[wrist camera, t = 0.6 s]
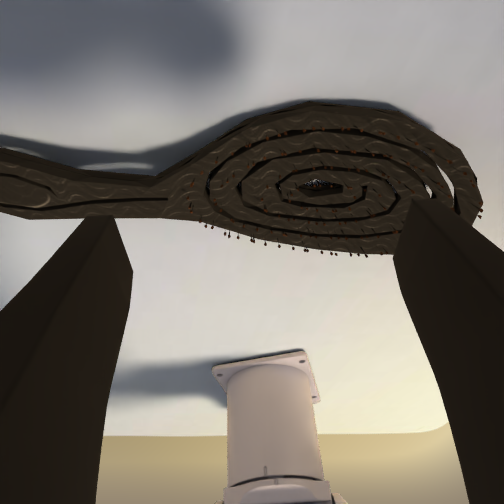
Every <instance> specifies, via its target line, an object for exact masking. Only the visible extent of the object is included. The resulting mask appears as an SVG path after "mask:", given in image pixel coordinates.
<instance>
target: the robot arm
mask: <svg viewBox="0 0 504 504" xmlns="http://www.w3.org/2000/svg"><path fill="white" fill-rule="evenodd" d="M393 261H394V266H395V270H396V274H397V278H398V282H399V286H400V289H401V293H402V296H403V298H404V301H405V304H406V306H407V309H408V311H409V314H410V316H411V319H412V321H413V324H414V326H415V328H416V331H417V333H418V336H419V338H420V341H421V343H422V346H423V348H424V350H425V353H426V355H427V358H428V360H429V363H430V365H431V367H432V370H433V372H434V375H435V378H436V381H437V384H438V386H439V389H440V393H441V396H442V399H443V403H444V406H445V410H446V413H447V417H448V420H449V424H450V427H451V431H452V434H453V438H454V442H455V446H456V450H457V454H458V457H459V461H460V465H461V469H462V473H463V478H464V482H465V486H466V491H467V495H468V499H469V504H504V252H503V251H502V250H501V249H500V248H498V247H497V246H496V245H494V244H493V243H492V242H491V241H489V240H488V239H487V238H486V237H485V236H483V235H482V234H481V233H480V232H478V231H477V230H476V229H475V228H473V227H472V226H471V225H470V224H469V223H467V222H466V221H465V220H464V219H462V218H461V217H460V216H459V215H458V214H456V213H455V212H454V211H453V210H451V209H450V208H449V207H448V206H446V205H445V204H444V203H442V202H441V201H440V200H438V199H418V200H412V201H411V204H410V207H409V210H408V213H407V216H406V219H405V222H404V225H403V228H402V231H401V234H400V238H399V241H398V244H397V247H396V250H395V253H394V256H393ZM132 279H133V270H132V267H131V264H130V261H129V258H128V255H127V253H126V250H125V247H124V244H123V241H122V239H121V236H120V233H119V230H118V227H117V225H116V222H115V219H114V216H113V215H94V216H87V217H86V218H85V219H84V220H83V221H82V222H81V224H80V225H79V226H78V227H77V228H76V229H75V230H74V232H73V233H72V234H71V235H70V236H69V237H68V238H67V240H66V241H65V242H64V243H63V244H62V245H61V247H60V248H59V249H58V250H57V251H56V252H55V253H54V255H53V256H52V257H51V258H50V259H49V260H48V261H47V263H46V264H45V265H44V266H43V267H42V268H41V269H40V270H39V271H38V272H37V274H36V275H35V276H34V277H33V278H32V279H31V280H30V281H29V282H28V284H27V285H26V286H25V287H24V288H23V289H22V290H21V291H20V292H19V293H18V294H17V295H16V296H15V297H14V298H13V299H12V300H11V301H10V302H9V303H8V304H7V305H6V306H5V307H4V308H3V309H2V310H1V311H0V504H95V502H96V491H97V481H98V473H99V464H100V455H101V446H102V439H103V431H104V424H105V416H106V409H107V403H108V398H109V393H110V388H111V384H112V380H113V376H114V372H115V367H116V363H117V359H118V355H119V351H120V347H121V343H122V338H123V334H124V330H125V326H126V321H127V317H128V313H129V308H130V299H131V290H132ZM212 373H213V375H214V376H215V378H216V379H217V381H218V382H219V384H220V385H221V387H222V388H223V389H224V391H225V392H226V394H227V444H228V445H227V446H228V447H227V448H228V449H227V452H228V457H227V458H228V488H224V501H216V502H215V503H214V504H348V503H347V502H346V501H345V500H344V499H343V498H342V497H341V495H340V494H339V493H331V491H330V485H329V481H324V475H323V468H322V462H321V455H320V450H319V442H318V436H317V429H316V423H315V416H314V410H313V404H316V403H319V402H320V396H319V393H318V390H317V386H316V383H315V380H314V376H313V373H312V370H311V367H310V363H309V360H308V357H307V354H306V353H305V352H303V351H300V352H294V353H288V354H282V355H276V356H270V357H264V358H258V359H253V360H247V361H241V362H235V363H229V364H223V365H217V366H214V367H213V368H212Z"/></svg>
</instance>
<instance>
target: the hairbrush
mask: <svg viewBox="0 0 504 504" xmlns="http://www.w3.org/2000/svg"><path fill="white" fill-rule="evenodd" d="M420 150H422V151H425V152H426V153H427V154H428V155H429V156H427V155H426V154H425V153H423V152H422V151H420ZM436 164H437V165H438V166H439V167H440V168H441V169H442V170H443V171H444V173H445V174H446V175H447V176H448V178H449V179H450V181H451V182H452V184H453V186H454V199H453V196H452V194H451V191H450V189H449V186H448V184H447V183H446V181H445V180H444V178H443V176H442V174H441V172H440V171H439V169H438V167H437V165H436ZM411 168H412V169H413V170H412V169H411ZM213 169H214V170H213ZM212 170H213V171H212ZM210 171H212V173H211V174H210V181H209V189H208V187H207V185H206V182H207V179H208V175H209V172H210ZM314 179H318V180H323V181H327V182H332V183H336V185H331V184H330V183H329V184H330V185H324V186H321V184H319V182H318V181H317V182H318V184H319V186H316V185H315V184H313V186H312V187H311V186H308V185H304V184H305V183H307V182H310V181H311V182H312V180H314ZM387 180H388V181H389V182H390V183H391V185H392V186H393V187H394V189H395V190H396V191H397V193H396V194H394V191H393V188H392V186H391V185H390V183H389V182H388V181H387ZM240 181H241V189H240V188H239V187H237V186H236V185H237V184H238V183H239V182H240ZM278 181H279V186H280V189H279V186H278V183H277V182H278ZM424 182H425V183H426V184H427V185H428V187H429V188H430V189H431V191H432V196H431V198H430V195H429V193H428V192H427V190H426V187H425V184H424ZM312 183H313V182H312ZM280 190H281V191H280ZM418 199H438V200H440V201H441V202H442V203H444V204H445V205H446V206H448V207H449V208H450V209H451V210H453V211H454V212H455V213H456V214H458V215H459V216H460V217H461V218H462V219H464V220H465V221H466V222H467V223H469V224H470V225H471V226H472V225H473V223H474V221H475V219H476V217H477V215H478V213H479V211H480V212H483V209H481V207H482V205H483V201H482V197H481V194H480V191H479V189H478V186H477V177H476V176H475V174H474V172H473V170H472V169H471V167H470V165H469V163H468V161H467V160H466V158H465V156H464V155H463V153H462V151H461V149H459V148H458V147H456V146H454V145H453V144H451V143H449V142H448V141H446V140H445V139H443V138H441V137H440V136H438V135H437V134H436V133H434V132H432V131H430V130H428V129H427V128H425V127H424V126H422V125H420V124H419V123H417V122H416V121H414V120H412V119H411V118H409V117H407V116H406V115H404V114H403V113H401V112H399V111H392V110H383V109H374V108H365V107H356V106H347V105H338V104H328V103H319V102H310V101H309V102H305V103H302V104H298V105H295V106H291V107H288V108H284V109H281V110H277V111H274V112H270V113H267V114H263V115H260V116H256V117H253V118H249V119H247V120H245V121H244V122H242V123H240V124H239V125H237V126H236V127H234V128H233V129H231V130H230V131H228V132H227V133H225V134H224V135H222V136H220V137H219V138H217V139H216V140H214V141H213V142H211V143H210V144H208V145H207V146H205V147H204V148H202V149H200V150H199V151H197V152H196V153H194V154H192V155H191V156H189V157H187V158H185V159H184V160H182V161H180V162H178V163H177V164H175V165H173V166H172V167H170V168H168V169H166V170H165V171H163V172H161V173H159V174H158V175H156V176H149V175H138V174H127V173H116V172H104V171H93V170H82V169H76V168H73V167H69V166H66V165H62V164H58V163H55V162H51V161H48V160H44V159H41V158H37V157H34V156H30V155H27V154H23V153H20V152H16V151H13V150H9V149H6V148H0V212H2V213H6V214H10V215H14V216H17V217H21V218H25V219H29V220H34V219H80V218H86V217H87V216H94V215H113V216H114V218H165V219H177V220H189V221H199V223H201V222H204V223H206V225H205V228H207V224H210V225H213V226H212V227H211V229H213V228H214V226H217V227H220V228H223V229H227V230H229V235H228V238H230V237H231V236H230V231H233V232H237V233H240V234H243V235H247V236H250V237H251V240H250V241H251V242H253V243H255V240H254V238H257V239H261V240H266V241H272V242H278V243H283V244H289V245H292V246H293V245H295V246H301V247H306V249H307V248H312V249H319V250H329V251H330V254H331V255H333V253H332V252H331V251H339V252H349V253H350V256H352V254H351V253H358V254H357V255H358V256H360V254H365V256H366V258H367V257H368V256H367V254H381V255H383V254H391V255H394V253H395V250H396V247H397V244H398V241H399V238H400V234H401V231H402V228H403V225H404V222H405V219H406V216H407V213H408V210H409V207H410V204H411V201H412V200H418ZM453 200H454V207H453ZM478 217H479V218H480V219H481V217H482V216H481V215H478ZM225 231H226V230H225ZM224 235H226V232H225V233H224ZM252 237H253V239H252ZM237 239H239V235H238V236H237ZM264 245H265V246H266V245H267V244H266V242H265V243H264ZM278 247H279V248H280V247H281V246H280V245H278ZM292 249H293V250H294V247H292ZM306 249H305V248H304V252H306V251H307V252H309V250H308V249H307V250H306ZM321 254H323V252H322V251H321ZM335 255H336V256H337V253H335Z"/></svg>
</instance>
